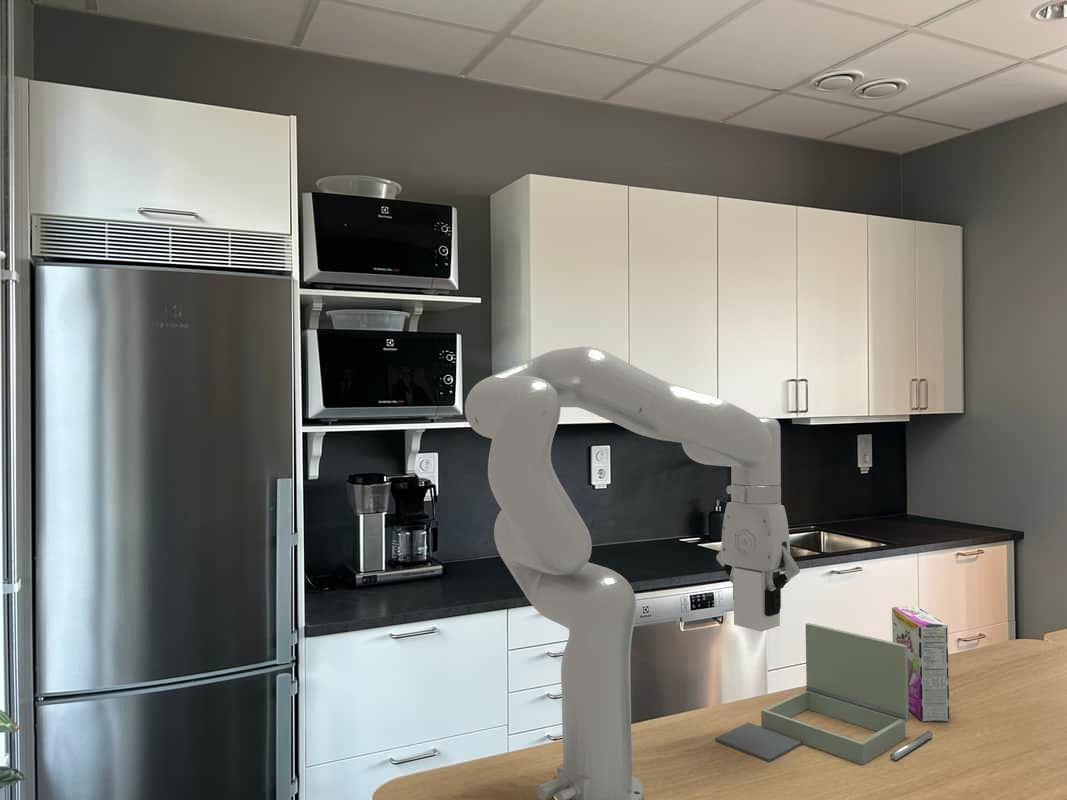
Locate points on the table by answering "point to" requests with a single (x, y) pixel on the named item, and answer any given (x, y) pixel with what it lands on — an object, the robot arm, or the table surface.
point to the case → (848, 693)
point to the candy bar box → (924, 662)
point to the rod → (911, 745)
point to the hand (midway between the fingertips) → (756, 609)
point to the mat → (759, 741)
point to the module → (751, 600)
